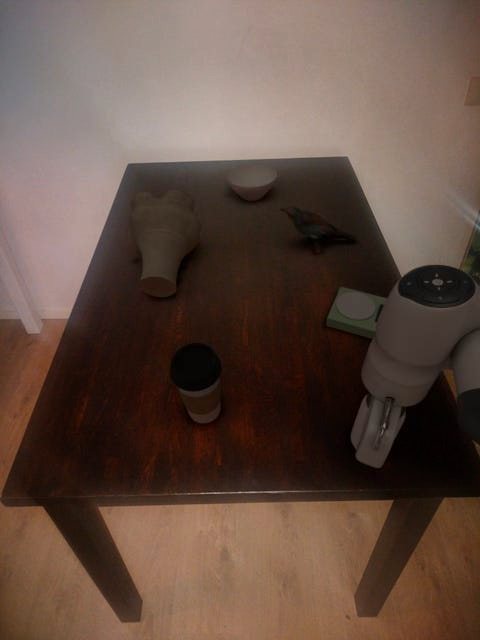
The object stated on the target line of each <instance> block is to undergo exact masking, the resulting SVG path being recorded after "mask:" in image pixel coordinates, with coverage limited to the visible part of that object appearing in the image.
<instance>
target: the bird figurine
mask: <svg viewBox="0 0 480 640" xmlns="http://www.w3.org/2000/svg"><path fill="white" fill-rule="evenodd" d="M279 211H281V212H283V213H286V214H287V217H288V218H289V219H290V220H291V222H292V224H293V225H294V228H295V229H296V231H297V232H298V233H299V234H300V235H302V236H306V237H305V238H304V240H305V242H306V243H309V241H311V240H314V245H313V249H314V252H315V254H321V252H322V243H321V242H322V241H321V240H325V241H330V240H339V239H340V240H345V239H346V240H347V241H349V242H354V241H358V237H357V236H355V235H353V234H351V233H348V232H346V231H343V230H341V229H338V228H337V227H335V225H332V224H331V223H329V222H328V221H327V220H326V219H324V218H323V217H322V216H320V215H319V214H317V213H315V212H311V211H308V210H302V209H301V208H300V207H297V206H296V205H295V206H294V205H293V206H289V207H286V208H279Z"/></svg>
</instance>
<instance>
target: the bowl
mask: <svg viewBox="0 0 480 640" xmlns="http://www.w3.org/2000/svg"><path fill="white" fill-rule="evenodd" d="M277 178H278V171H277V170H276V169H275V168H274V167H273V166H270V165H268V164H264V163H253V162H252V163H243V164H239V165H236V166H234V167H232V168H231V169H229V171H227V173H226V180H227V183H228V185H229V186H230V188H231V189H232V190H233V191H234V192H235V193H236V194H237V195H239V196H240V198H242V200H245V201H250V202H254V201H259V200H261V199H262V198H264V196H265V195H266V194H267V193H268V192H269V191H270V190H272V188H273V186H274V185H275V184H276V182H277Z"/></svg>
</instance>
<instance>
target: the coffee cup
mask: <svg viewBox="0 0 480 640" xmlns="http://www.w3.org/2000/svg"><path fill="white" fill-rule="evenodd" d="M222 366H223V365H222V363H221V360H220V357H219V356H218V354H217V353H216V351H215V350H214V349H213V348H212V347H211V346H210V345H209V344H205V343H203V342H192V343H191V342H190V343H189V344H188V343H187V344H185V345H183V346H182V347H180V348H179V349H177V351H176V352H175V353H174V355H173V356H172V358H171V362H170V367H169V376H170V379H171V381H172V383H173V385H175V387H176V390H177V392H178V394H179V396H180V398H181V400H182V402H183V404H184V406H185V408H186V410H187V413H188V414H189V416H190V418H191V419H192V420H193V421H194V422H195V423H197V424H209V423H211V422H213V421H215V420H216V419H217V418H218V417H219V414H220V412H221V392H222V391H221V389H222V388H221V387H222V386H221V385H222V383H221V382H222V381H221V380H222V377H221V376H222V375H221V374H222V370H223V369H222Z"/></svg>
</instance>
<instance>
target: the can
mask: <svg viewBox="0 0 480 640" xmlns="http://www.w3.org/2000/svg"><path fill="white" fill-rule="evenodd" d="M371 395H372V394H371V393H370V392H369V391H368V393H367V394H366V395H365V396H364V397H363V399H362V401H361V403H360V406H359V409H358V411H357V415H356V417H355V420H354V423H353V426H352V429H351V433H350V441H351V443H352V446H353V448H354V450H356V449H357V445H358V442H359V438H360V435H361V431H362V427H363V424H364V420H365V416H366V413H367V409H368V406H369V403H370V399H371ZM406 407H407V406H406ZM406 407H402V408H401V413H400V417H399V422H398V427H397V431H396V435H395V438H396V437H397V435H398V434H399V432H400V430H401V428H402V426H403V425H404V422H405V419H406V412H407V411H406V409H407V408H406Z"/></svg>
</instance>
